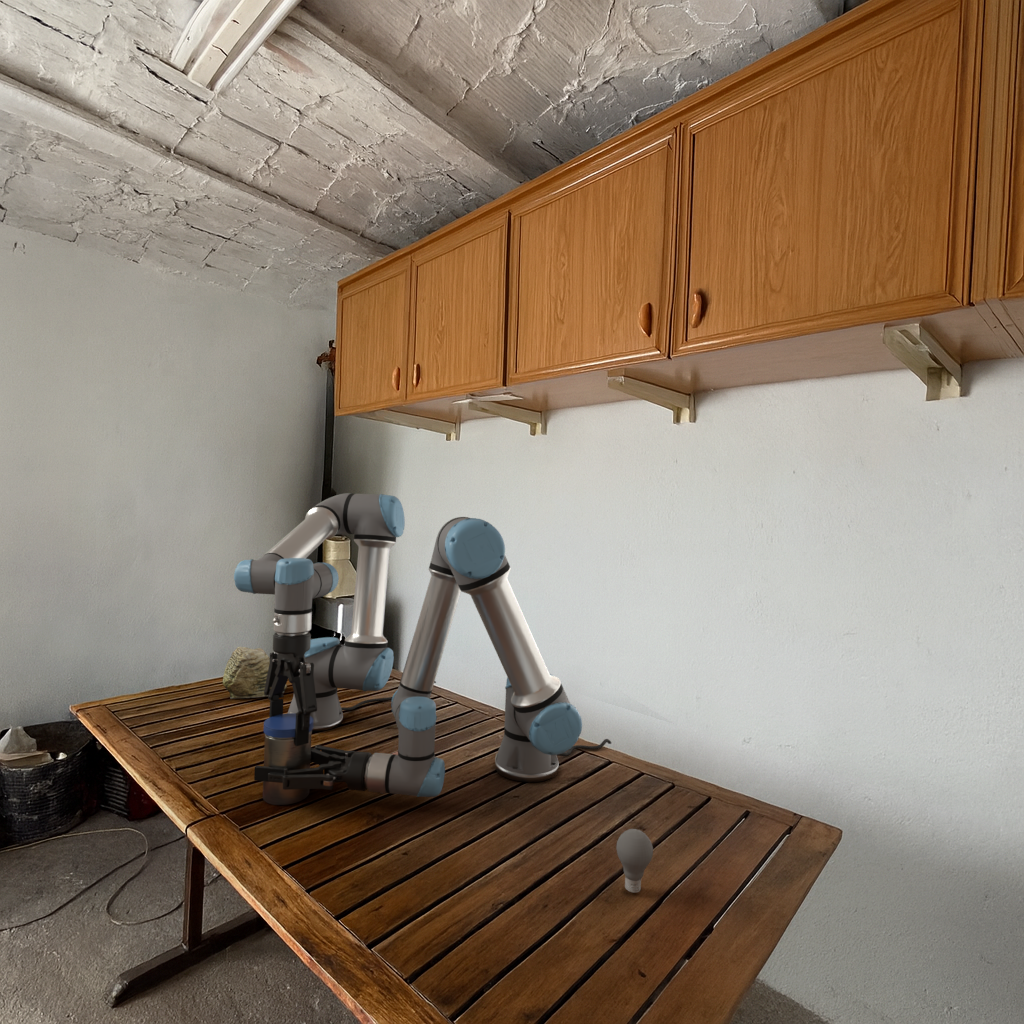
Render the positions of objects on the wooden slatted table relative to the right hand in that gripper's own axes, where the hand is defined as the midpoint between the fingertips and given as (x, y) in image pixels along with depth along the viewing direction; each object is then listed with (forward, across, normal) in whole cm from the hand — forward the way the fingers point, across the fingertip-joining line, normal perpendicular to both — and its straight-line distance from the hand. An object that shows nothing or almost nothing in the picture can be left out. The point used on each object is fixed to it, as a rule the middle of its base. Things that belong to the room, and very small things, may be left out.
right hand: (267, 762), depth 134 cm
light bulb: (-75, -22, -6) cm, 78 cm away
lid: (-4, 0, +9) cm, 10 cm away
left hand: (-4, 0, +6) cm, 7 cm away
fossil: (+34, +60, -6) cm, 70 cm away
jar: (-4, 0, -6) cm, 8 cm away
